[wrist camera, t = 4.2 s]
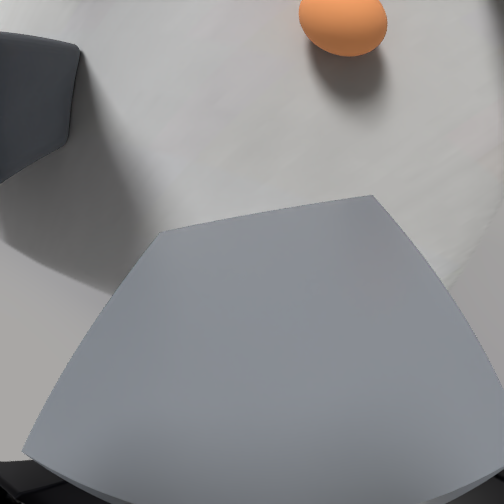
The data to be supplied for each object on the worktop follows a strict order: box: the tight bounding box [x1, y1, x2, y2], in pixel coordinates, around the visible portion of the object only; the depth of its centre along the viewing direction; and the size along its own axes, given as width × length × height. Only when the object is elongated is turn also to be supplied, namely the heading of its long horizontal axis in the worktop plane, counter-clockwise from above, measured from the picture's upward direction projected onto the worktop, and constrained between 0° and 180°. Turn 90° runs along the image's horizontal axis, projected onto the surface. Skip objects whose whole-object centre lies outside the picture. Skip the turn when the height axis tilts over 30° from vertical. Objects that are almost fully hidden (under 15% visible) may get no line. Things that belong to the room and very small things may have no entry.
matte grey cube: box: [22, 195, 504, 504], centre depth 8 cm, size 8×8×9 cm
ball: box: [299, 0, 387, 57], centre depth 11 cm, size 5×5×5 cm
